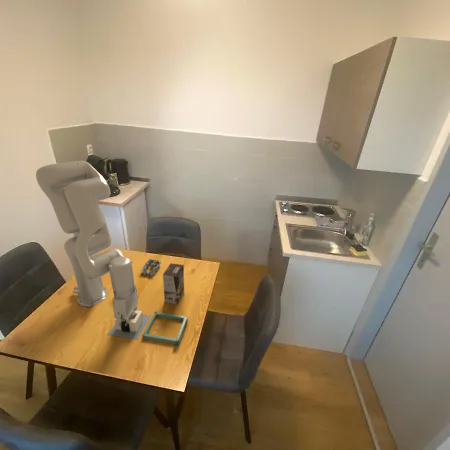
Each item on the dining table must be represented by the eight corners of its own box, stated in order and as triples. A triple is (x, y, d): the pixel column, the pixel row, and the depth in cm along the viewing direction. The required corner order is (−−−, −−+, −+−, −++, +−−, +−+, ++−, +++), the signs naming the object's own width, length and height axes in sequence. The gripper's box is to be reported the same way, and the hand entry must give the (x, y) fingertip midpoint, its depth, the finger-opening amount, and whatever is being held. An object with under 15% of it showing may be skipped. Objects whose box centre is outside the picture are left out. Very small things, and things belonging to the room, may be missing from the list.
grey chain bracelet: (153, 277, 129) (153, 271, 127) (140, 274, 130) (139, 268, 128) (162, 265, 138) (162, 259, 136) (149, 263, 139) (149, 257, 137)
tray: (142, 339, 95) (142, 335, 94) (155, 316, 105) (154, 311, 104) (178, 345, 93) (178, 341, 92) (187, 321, 104) (187, 316, 103)
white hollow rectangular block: (116, 329, 97) (114, 319, 95) (123, 317, 103) (122, 308, 100) (136, 332, 96) (135, 322, 94) (143, 320, 102) (142, 311, 100)
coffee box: (177, 306, 111) (176, 277, 104) (164, 303, 112) (162, 274, 105) (184, 292, 119) (184, 264, 112) (172, 290, 120) (170, 262, 113)
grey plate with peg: (108, 336, 95) (104, 321, 92) (124, 313, 106) (121, 299, 103) (137, 341, 94) (135, 327, 91) (150, 317, 105) (149, 303, 101)
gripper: (126, 273, 100) (131, 307, 108) (100, 304, 84) (109, 341, 92) (144, 275, 99) (148, 309, 107) (121, 307, 83) (128, 344, 91)
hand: (130, 323), depth 99 cm, fingers closed on white hollow rectangular block, 6 cm apart
